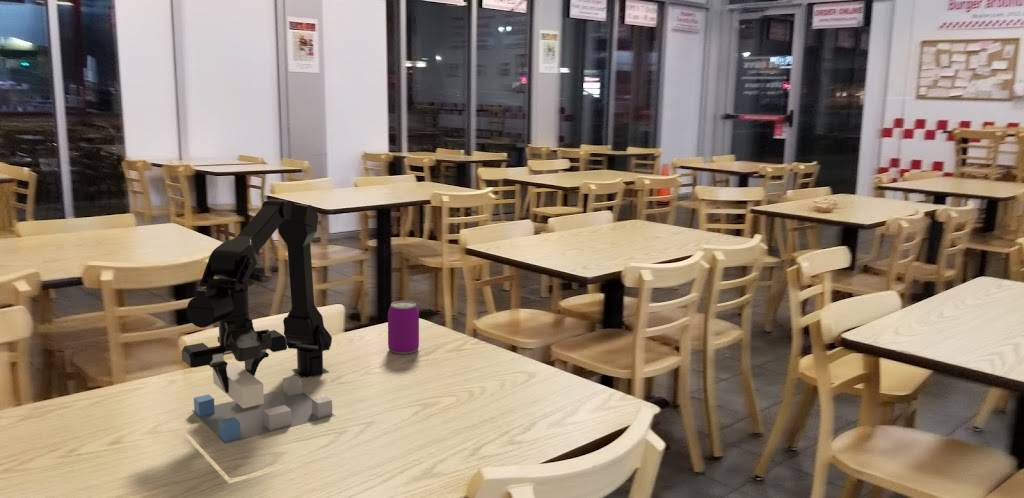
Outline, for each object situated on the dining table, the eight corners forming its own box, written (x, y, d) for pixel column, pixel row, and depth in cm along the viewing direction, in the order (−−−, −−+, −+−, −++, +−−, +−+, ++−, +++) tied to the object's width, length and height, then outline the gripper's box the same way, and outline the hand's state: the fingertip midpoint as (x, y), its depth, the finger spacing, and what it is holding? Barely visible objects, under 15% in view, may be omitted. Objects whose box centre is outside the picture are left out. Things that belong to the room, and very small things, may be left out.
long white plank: (213, 383, 164) (212, 364, 164) (233, 378, 167) (232, 360, 166) (243, 408, 152) (242, 388, 151) (264, 403, 155) (263, 383, 154)
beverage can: (421, 346, 209) (421, 300, 206) (415, 356, 201) (415, 308, 199) (392, 344, 209) (391, 299, 207) (384, 354, 202) (384, 307, 199)
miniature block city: (191, 413, 164) (190, 396, 163) (295, 389, 178) (294, 373, 177) (225, 446, 150) (224, 428, 149) (335, 418, 163) (335, 401, 162)
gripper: (198, 331, 144) (203, 414, 147) (297, 314, 156) (300, 392, 159) (178, 317, 153) (183, 395, 156) (274, 302, 164) (277, 375, 167)
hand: (237, 390), depth 159 cm, fingers closed on long white plank, 4 cm apart
